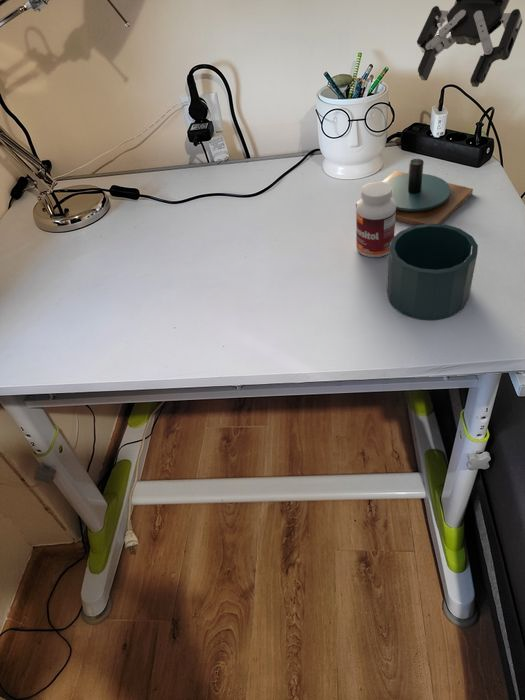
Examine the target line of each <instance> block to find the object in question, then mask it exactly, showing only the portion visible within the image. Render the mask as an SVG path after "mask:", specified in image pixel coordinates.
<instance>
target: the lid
mask: <svg viewBox="0 0 525 700" xmlns="http://www.w3.org/2000/svg"><path fill="white" fill-rule="evenodd" d="M424 163H425V162H424V160H423V159H421V158H412V159H410V161H409V163H408V173H409V174H405V175H400V176H396V177H393V178H391V179H389V180H387V181H386V183H388V184H390V185H391V186H392V198H393V199H394V201H395V203H396V209H398V210H403V211H423V210H429V209H432V208H435V207H438V206H440V205H441V204H443V203H444V202H446V201H447V199H448V198H449V196H450V191H451V189H450V186H449V185H448V183H449V182H447V181H446V180H444V179H443V178H440V177H438V176H436V175H432V174H428V173H424Z"/></svg>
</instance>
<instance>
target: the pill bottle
mask: <svg viewBox="0 0 525 700" xmlns="http://www.w3.org/2000/svg"><path fill="white" fill-rule="evenodd" d="M358 201H359V202H358ZM358 201H357V202H358V203H357V202H356V203H357V207H356V206H355V208H356V209H355V212H356V213H355V214H356V215H355V216H356V220H355V221H356V223H355V224H356V225H355V226H356V229H355V230H356V231H355V234H356V236H355V237H356V240H355V242H356V243H355V244H356V245H355V246H356V250H357V252H358V253H359V254H361V255H363V256H365V257H369V258H381V257H385V256H386V255H389V247H390V243H391V240H392V238H393V237H395V232H396V231H395V229H396V220H395V215H396V203H395V201H394V199H393V198H392V186H391V185H390V184H388V183H386V182H382V181H378V180H377V181H371V182H368V183H366V184H364V185H363V186H362V188H361V191H360V199H359V200H358Z"/></svg>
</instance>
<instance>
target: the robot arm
mask: <svg viewBox="0 0 525 700" xmlns="http://www.w3.org/2000/svg"><path fill="white" fill-rule="evenodd" d="M509 3H510V0H455V2H454V5H452V7H451V8H450V9H449V10H441V9H440V7H439V6H438V5H435V6H433V7H432V8H431V10H430V12H429V14H428V17H427V18H426V21H425V23H424V26H423V27H422V29H421V32H420V33H419V35H418V38H417V40H416V44H417V45H418V48H419V50H420V51H421V53H423V55H422V57H421V60H420V62H419V64H418V68H417V73H418V76H419V78H420V80H421V81H424V82H427V81H428V79H429V77H430V74H431V72H432V69H433V67H434V65H435V63H436V60H437V56H438V55H439V54H440V53H442V52H443V51H444V50H448V49H450V48H451V47H452V46H453V45H454V44H456V45H465V44H466V45H469V46H477V44H480V43H481V47H482V50H483V54H481V55H480V56H479V58H478V60H477V63H476V66H475V67H474V70H473V72H472V75H471V77H470V81H469V82H470V85H471V86H472V88H473V87H474V88H478V87H479V85H480V84H483V83H484V82H485V81H486V78H487V76H488V73H489V72H490V69H491V67H492V64H493V63H494V62H496V61H499V60H502V61H506V60H508V59H509V58H510V55H511V53H512V51H513V47H514V45H515V42H516V41H517V37H518V35H519V32H520V29H521V27H522V24H523V19H522V14H521V10H520V9H519V8H515V9H513V10H512V11H511V12H505V11H506V10H507V6H508V5H509ZM445 22H447V23H446V24H445V25H444V23H445ZM501 26H503V29H504V30H503V32H502V36H501V38H500V41H499V44H498V45H497V46H493V43H492V39H491V34H492V33H494V32H495V31H496V30H498V29H499V28H500V27H501ZM449 34H450V36H448V35H449ZM447 36H448V37H447Z"/></svg>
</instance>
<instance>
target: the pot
mask: <svg viewBox="0 0 525 700" xmlns="http://www.w3.org/2000/svg"><path fill="white" fill-rule="evenodd" d="M478 250H479V244H478V243H477V241H476V240H475V238H474V237H473V235H471V234H469V233H468V232H466V231H465V230H463V229H461V228H460V227H456V226H453V225H449V224H445V223H442V224H431V223H429V224H422V225H412V226H410V227H406V228H405V229H402V230H400V231H398V233H396V235H394V237H393V238H392V240H391V243H390V247H389V253H388V257H387V258H388V260H387V261H388V262H387V284H386V294H387V300H388V301H389V303H390V305H391V306H392V307H393V309H394V310H396V311H397V312H399V313H400V314H402V315H404V316H406V317H409V318H412V319H416V320H421V321H422V320H423V321H437V320H443V319H448V318H451V317H452V316H454V315H457V314H459V312H461V311H462V310H463V309H464V308H465V307H466V305H467V303H468V301H469V298H470V293H471V289H472V283H473V278H474V272H475V268H476V263H477V257H478Z"/></svg>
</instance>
